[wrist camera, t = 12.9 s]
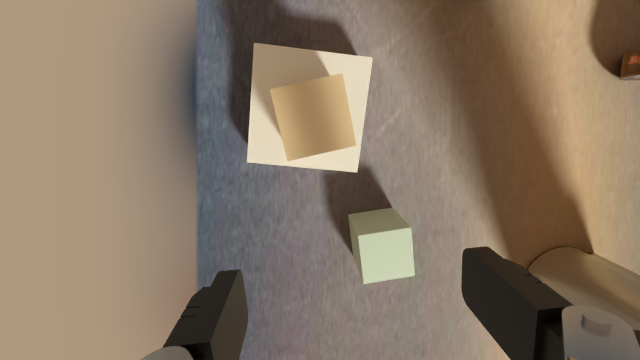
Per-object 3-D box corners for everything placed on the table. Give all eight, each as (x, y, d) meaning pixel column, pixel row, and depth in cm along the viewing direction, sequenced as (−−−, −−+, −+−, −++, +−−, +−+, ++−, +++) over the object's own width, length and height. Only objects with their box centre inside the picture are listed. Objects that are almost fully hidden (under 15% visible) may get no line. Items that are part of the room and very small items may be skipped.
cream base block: (361, 65, 32) (372, 57, 27) (348, 163, 34) (357, 172, 29) (260, 52, 31) (253, 42, 26) (254, 154, 33) (247, 162, 28)
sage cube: (392, 207, 35) (411, 227, 29) (395, 248, 36) (414, 275, 30) (347, 214, 35) (358, 235, 29) (353, 255, 36) (363, 283, 30)
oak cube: (332, 80, 27) (342, 73, 21) (344, 138, 28) (356, 145, 22) (275, 93, 27) (269, 89, 21) (289, 150, 28) (287, 161, 22)
